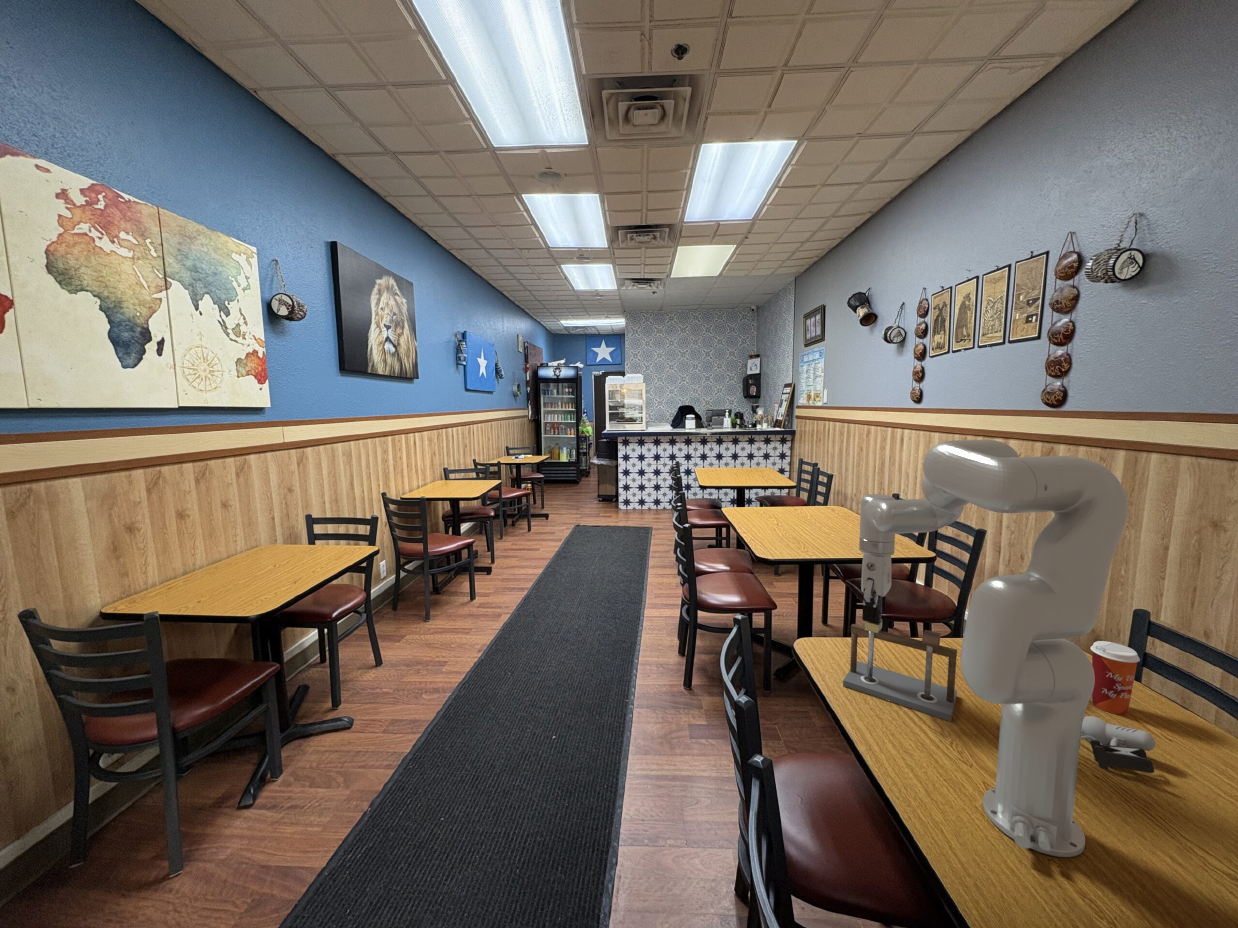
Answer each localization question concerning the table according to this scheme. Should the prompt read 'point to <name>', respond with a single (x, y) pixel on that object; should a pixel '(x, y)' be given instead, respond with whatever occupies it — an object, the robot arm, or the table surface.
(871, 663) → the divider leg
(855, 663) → the divider frame
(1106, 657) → the paper cup
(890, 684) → the hole plate
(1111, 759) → the clip-on lamp
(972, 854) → the table surface
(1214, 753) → the table surface
